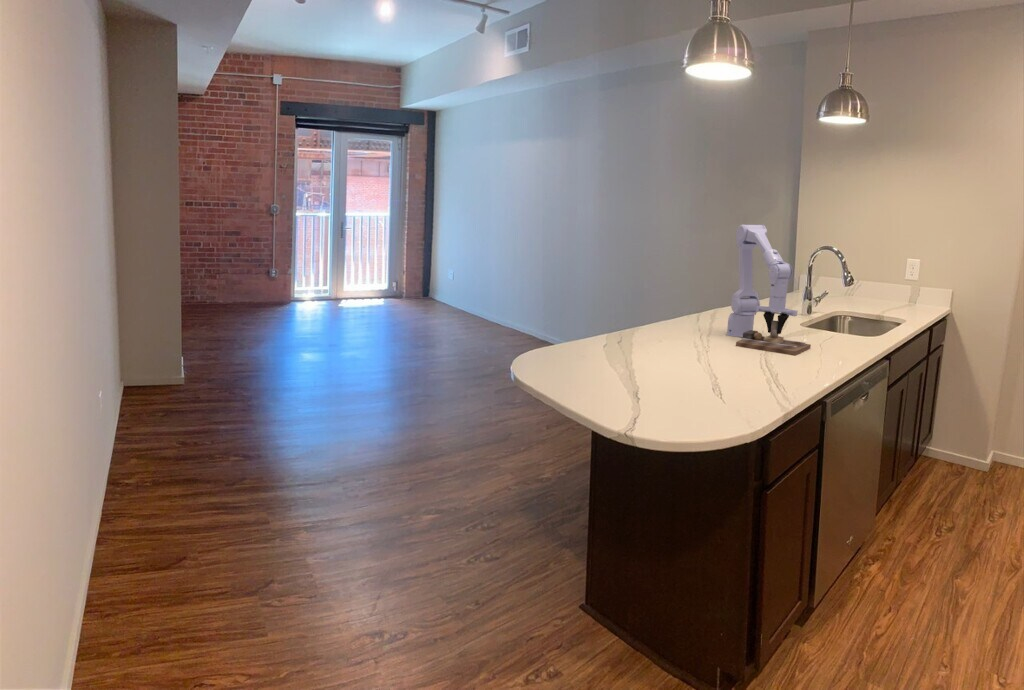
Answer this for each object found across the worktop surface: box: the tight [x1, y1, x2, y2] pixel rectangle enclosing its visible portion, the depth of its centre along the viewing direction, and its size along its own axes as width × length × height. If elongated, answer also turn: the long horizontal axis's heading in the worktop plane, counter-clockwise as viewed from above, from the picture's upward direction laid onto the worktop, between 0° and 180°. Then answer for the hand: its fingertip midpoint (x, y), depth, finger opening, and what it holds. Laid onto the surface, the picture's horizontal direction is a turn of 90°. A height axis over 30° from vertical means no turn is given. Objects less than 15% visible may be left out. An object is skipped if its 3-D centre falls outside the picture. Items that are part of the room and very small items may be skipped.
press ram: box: [764, 320, 785, 344], centre depth 267 cm, size 5×6×8 cm
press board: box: [735, 329, 811, 356], centre depth 268 cm, size 22×16×5 cm
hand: (774, 333), depth 267 cm, fingers closed on press ram, 3 cm apart
